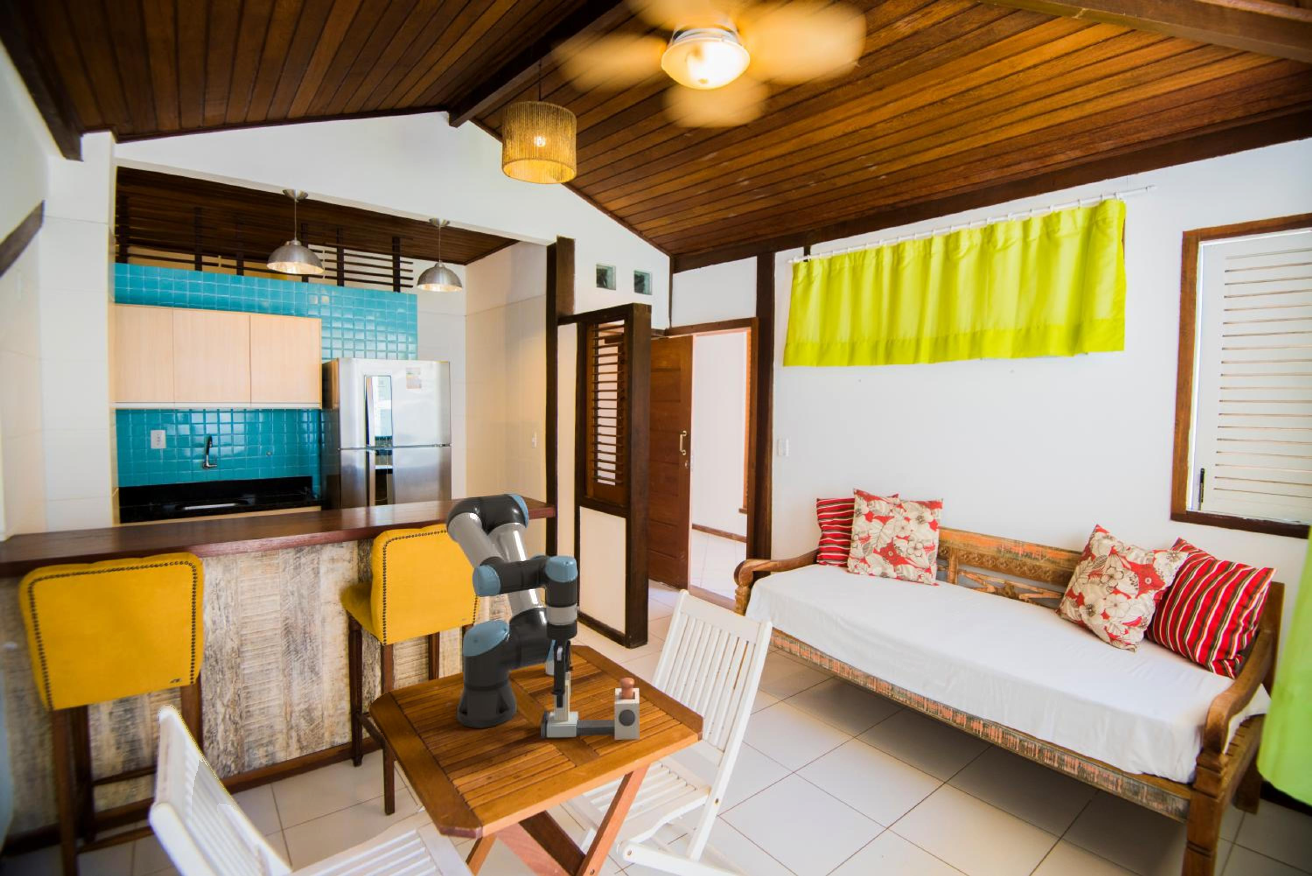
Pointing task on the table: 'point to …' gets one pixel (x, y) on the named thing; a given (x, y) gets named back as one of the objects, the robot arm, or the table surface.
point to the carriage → (563, 721)
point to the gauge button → (626, 688)
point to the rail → (584, 727)
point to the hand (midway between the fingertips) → (562, 707)
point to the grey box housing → (626, 716)
